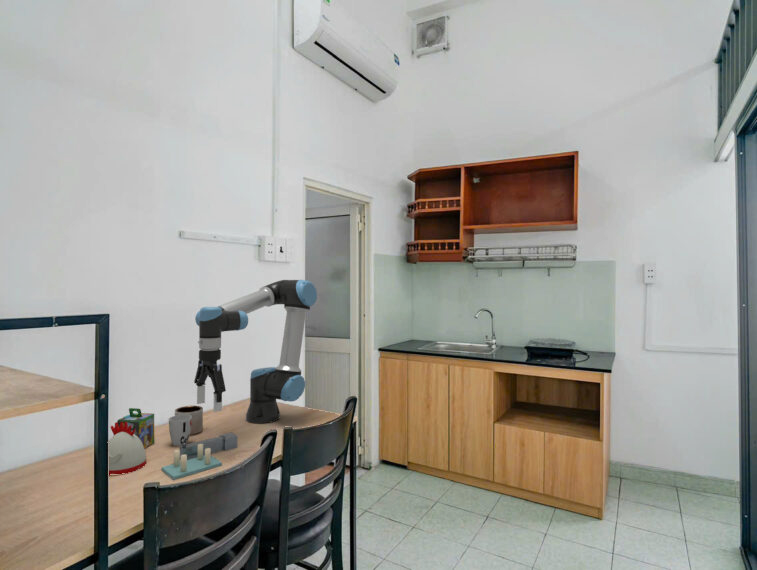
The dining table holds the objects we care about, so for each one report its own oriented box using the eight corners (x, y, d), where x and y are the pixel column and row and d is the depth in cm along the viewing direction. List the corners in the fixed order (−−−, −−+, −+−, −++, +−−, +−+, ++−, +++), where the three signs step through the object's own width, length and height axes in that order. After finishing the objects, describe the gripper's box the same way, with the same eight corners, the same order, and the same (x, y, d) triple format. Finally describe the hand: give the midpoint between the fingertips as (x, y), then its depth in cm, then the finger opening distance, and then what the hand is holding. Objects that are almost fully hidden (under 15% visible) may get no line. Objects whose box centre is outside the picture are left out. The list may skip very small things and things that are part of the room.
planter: (168, 434, 179) (168, 410, 179) (188, 426, 189) (189, 404, 189) (188, 438, 175) (188, 414, 175) (208, 430, 185) (208, 407, 185)
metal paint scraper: (231, 444, 170) (231, 429, 170) (237, 447, 166) (237, 432, 166) (178, 458, 155) (178, 442, 155) (184, 462, 152) (184, 445, 152)
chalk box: (155, 443, 169) (155, 404, 169) (139, 452, 160) (139, 411, 160) (132, 441, 170) (133, 403, 170) (115, 450, 161) (116, 410, 161)
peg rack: (208, 457, 157) (208, 440, 157) (221, 465, 150) (222, 447, 150) (161, 470, 145) (161, 452, 145) (173, 479, 138) (173, 460, 138)
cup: (182, 448, 164) (183, 421, 164) (163, 446, 166) (163, 420, 166) (195, 441, 172) (196, 415, 172) (177, 439, 174) (177, 413, 174)
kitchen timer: (115, 457, 155) (116, 415, 155) (154, 459, 154) (155, 416, 154) (88, 474, 141) (89, 428, 141) (130, 476, 140) (131, 429, 140)
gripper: (185, 346, 167) (184, 402, 167) (215, 354, 149) (214, 416, 149) (204, 344, 172) (204, 398, 172) (236, 352, 155) (235, 412, 155)
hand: (209, 407), depth 161 cm, fingers open, 13 cm apart
